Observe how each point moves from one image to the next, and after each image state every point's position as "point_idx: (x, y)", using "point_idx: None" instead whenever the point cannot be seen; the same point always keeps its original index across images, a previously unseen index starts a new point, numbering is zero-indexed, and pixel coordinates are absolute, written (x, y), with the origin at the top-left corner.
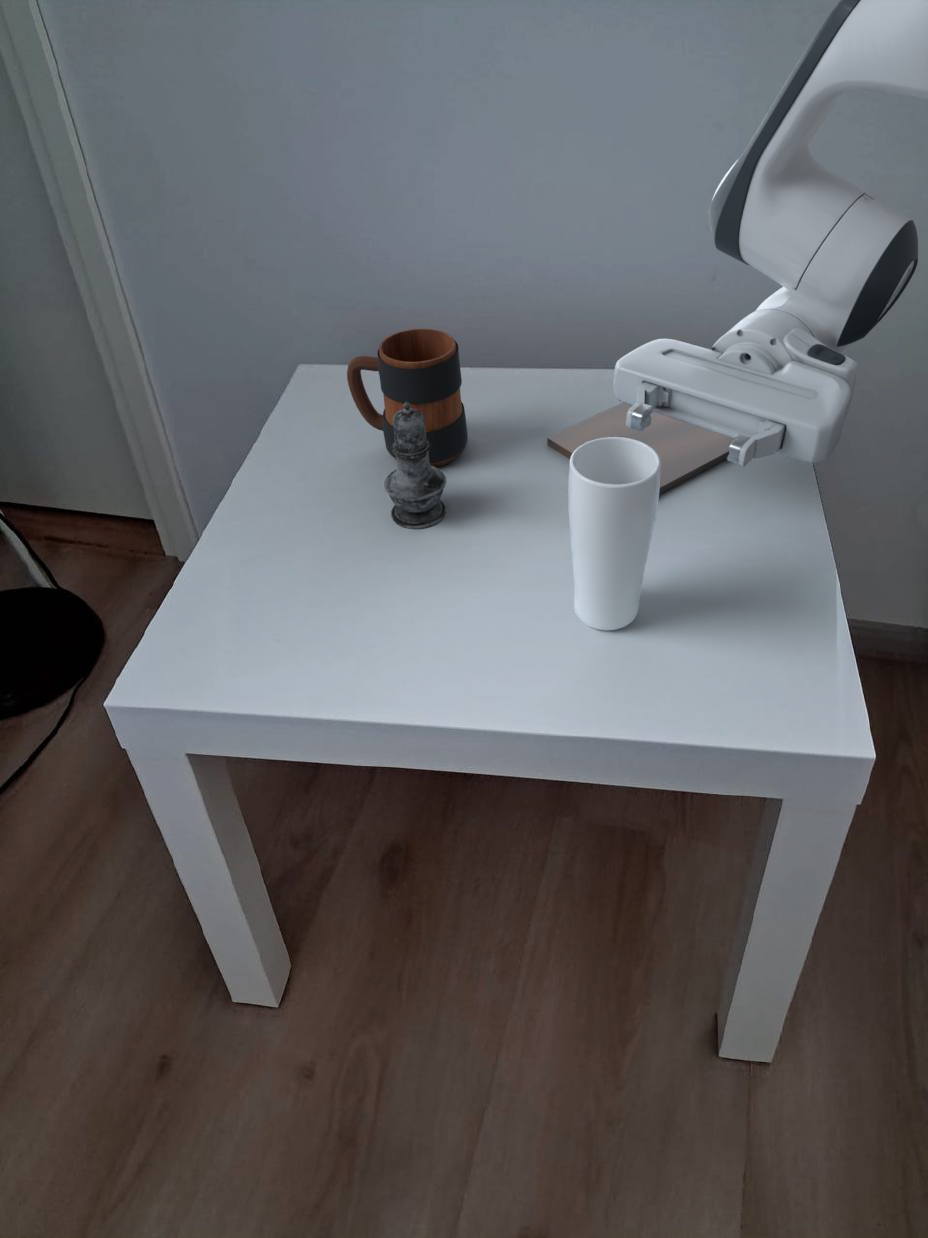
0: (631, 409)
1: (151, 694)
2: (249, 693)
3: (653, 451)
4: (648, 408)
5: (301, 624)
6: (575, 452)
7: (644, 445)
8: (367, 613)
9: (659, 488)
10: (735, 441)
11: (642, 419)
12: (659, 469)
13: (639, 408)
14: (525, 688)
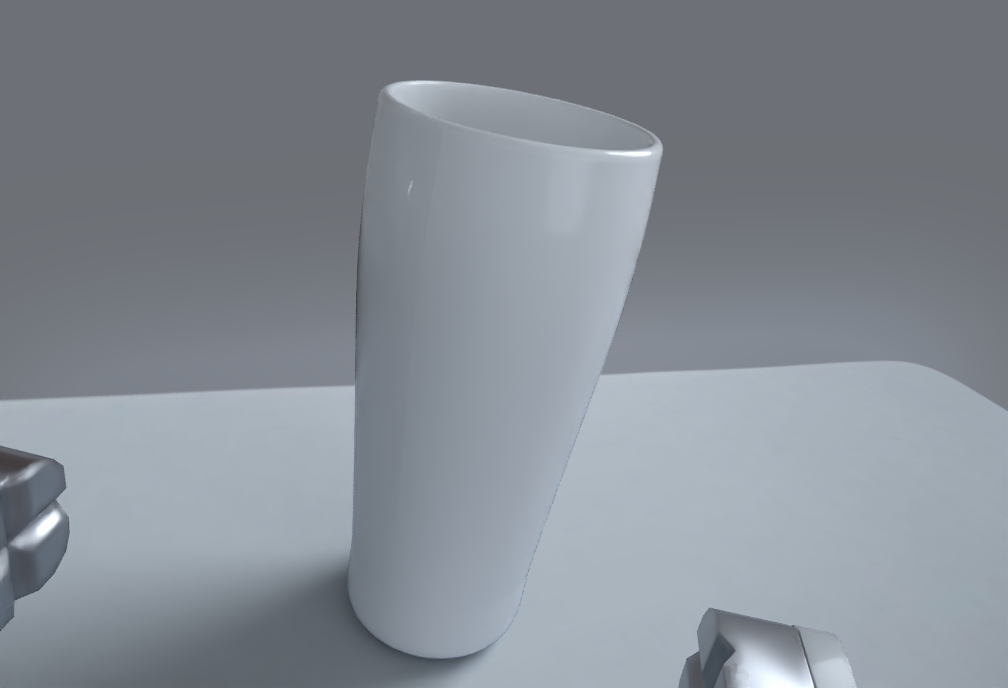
0: (820, 635)
1: (905, 367)
2: (821, 378)
3: (426, 114)
4: (735, 681)
5: (909, 464)
6: (650, 134)
7: (470, 128)
8: (857, 499)
9: (366, 183)
10: (11, 467)
11: (702, 636)
12: (378, 96)
13: (785, 656)
14: None
